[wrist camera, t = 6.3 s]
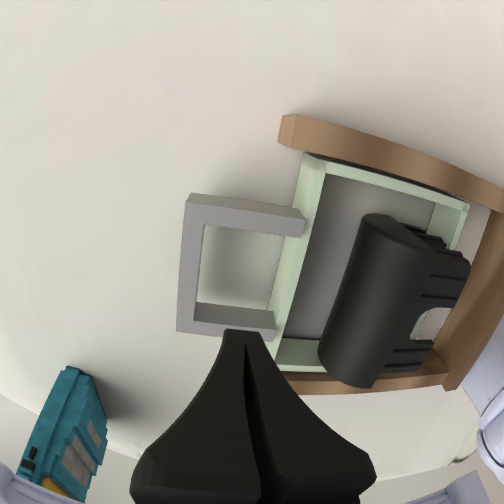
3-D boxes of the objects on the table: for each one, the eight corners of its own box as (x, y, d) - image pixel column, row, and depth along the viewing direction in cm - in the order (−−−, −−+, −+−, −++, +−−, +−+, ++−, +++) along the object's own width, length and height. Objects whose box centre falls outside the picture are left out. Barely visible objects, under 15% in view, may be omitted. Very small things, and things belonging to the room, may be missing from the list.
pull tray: (445, 192, 18) (474, 206, 15) (382, 347, 24) (397, 374, 21) (201, 135, 16) (193, 138, 13) (181, 333, 22) (175, 365, 19)
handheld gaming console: (59, 361, 24) (4, 486, 10) (95, 370, 24) (48, 508, 10) (83, 416, 28) (53, 520, 14) (114, 424, 28) (90, 534, 14)
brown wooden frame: (506, 194, 19) (545, 213, 14) (434, 357, 26) (456, 389, 22) (282, 115, 16) (300, 114, 12) (235, 354, 24) (236, 402, 19)
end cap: (344, 202, 19) (392, 244, 13) (426, 222, 20) (482, 262, 14) (306, 326, 23) (327, 392, 17) (382, 330, 24) (414, 386, 18)
